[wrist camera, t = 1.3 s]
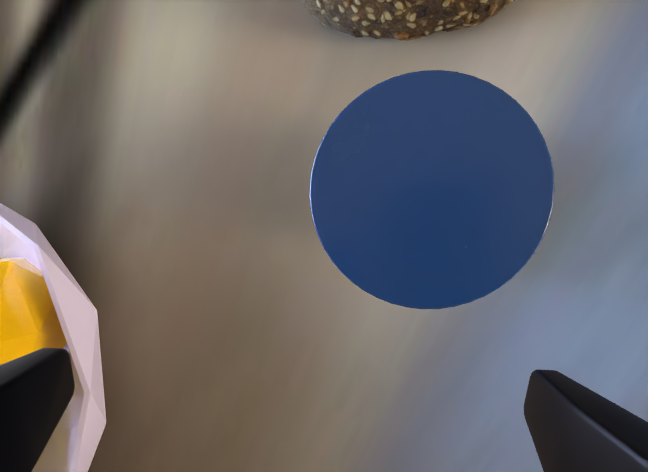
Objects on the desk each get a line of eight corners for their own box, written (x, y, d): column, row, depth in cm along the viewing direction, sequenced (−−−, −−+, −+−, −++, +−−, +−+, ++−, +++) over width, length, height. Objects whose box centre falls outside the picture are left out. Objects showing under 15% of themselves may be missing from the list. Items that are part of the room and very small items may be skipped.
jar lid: (574, 134, 14) (605, 117, 11) (483, 326, 15) (492, 351, 12) (373, 68, 15) (359, 39, 13) (304, 246, 16) (278, 252, 14)
